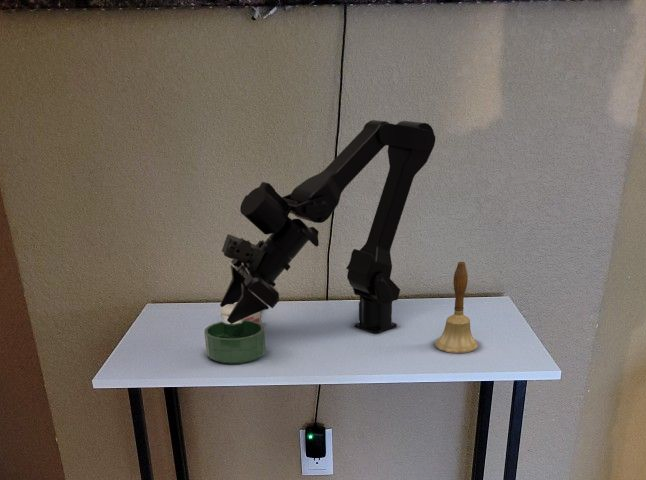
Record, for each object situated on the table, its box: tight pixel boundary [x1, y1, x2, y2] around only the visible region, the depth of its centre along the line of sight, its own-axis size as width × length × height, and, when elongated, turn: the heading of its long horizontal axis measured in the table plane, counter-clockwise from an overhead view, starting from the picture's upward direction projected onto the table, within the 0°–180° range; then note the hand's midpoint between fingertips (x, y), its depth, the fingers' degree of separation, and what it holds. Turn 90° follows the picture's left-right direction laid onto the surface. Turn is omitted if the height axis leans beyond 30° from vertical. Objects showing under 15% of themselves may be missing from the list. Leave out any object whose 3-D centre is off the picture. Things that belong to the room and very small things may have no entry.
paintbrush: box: [245, 311, 264, 326], centre depth 158 cm, size 4×3×20 cm
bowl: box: [204, 320, 267, 365], centre depth 143 cm, size 11×11×5 cm
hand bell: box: [434, 261, 479, 354], centre depth 141 cm, size 8×8×16 cm
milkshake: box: [219, 303, 245, 339], centre depth 141 cm, size 5×5×10 cm
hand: (225, 314), depth 139 cm, fingers open, 9 cm apart
